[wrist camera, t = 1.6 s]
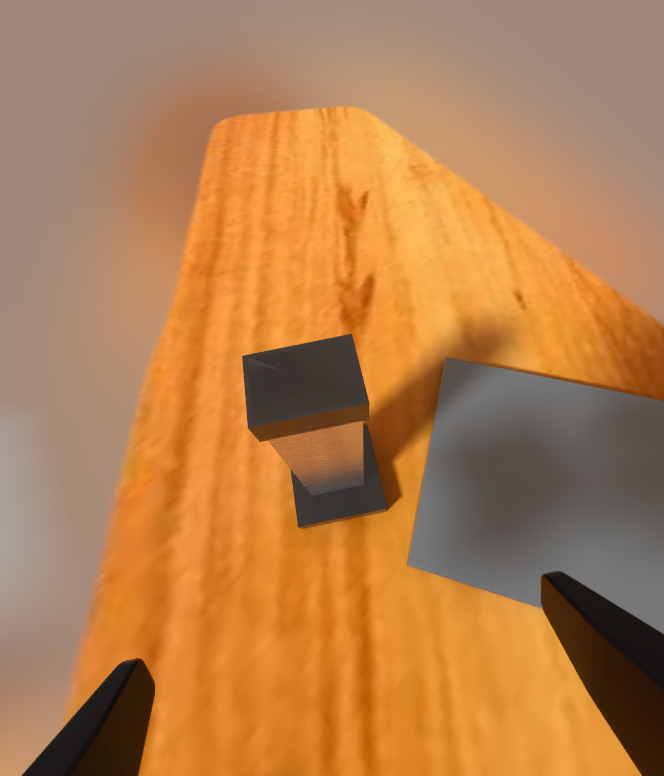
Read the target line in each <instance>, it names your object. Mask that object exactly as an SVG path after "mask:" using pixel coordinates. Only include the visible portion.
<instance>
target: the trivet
mask: <svg viewBox="0 0 664 776" xmlns="http://www.w3.org/2000/svg"><path fill="white" fill-rule="evenodd" d="M407 566H411V567H414V568H417V569H420V570H423V571H426V572H429V573H432V574H436V575H439V576H442V577H445V578H448V579H451V580H454V581H457V582H460V583H464V584H467V585H470V586H473V587H476V588H479V589H482V590H485V591H489V592H492V593H495V594H498V595H501V596H504V597H507V598H510V599H514V600H517V601H520V602H523V603H526V604H529V605H532V606H535V607H538V608H542V605H541V576H542V575H543V574H545V573H549V572H554V571H561V572H564V573H565V574H567V575H569V576H570V577H572V578H574V579H575V580H577V581H578V582H580V583H582V584H583V585H585V586H587V587H588V588H590V589H591V590H593V591H595V592H596V593H598V594H600V595H601V596H603V597H605V598H606V599H608V600H609V601H611V602H613V603H614V604H616V605H618V606H619V607H621V608H622V609H624V610H626V611H627V612H629V613H631V614H632V615H634V616H635V617H637V618H639V619H640V620H642V621H644V622H645V623H647V624H648V625H650V626H652V627H653V628H655V629H657V630H658V631H660V632H662V633H663V634H664V401H663V400H658V399H653V398H648V397H643V396H638V395H633V394H628V393H623V392H618V391H613V390H608V389H603V388H598V387H593V386H588V385H583V384H578V383H573V382H568V381H563V380H558V379H553V378H548V377H543V376H538V375H533V374H528V373H523V372H518V371H513V370H508V369H503V368H498V367H493V366H488V365H483V364H478V363H473V362H468V361H463V360H458V359H453V358H448V357H446V359H445V362H444V365H443V371H442V376H441V382H440V387H439V392H438V398H437V403H436V408H435V414H434V419H433V425H432V430H431V435H430V441H429V446H428V452H427V457H426V462H425V468H424V473H423V478H422V484H421V489H420V495H419V500H418V505H417V511H416V516H415V522H414V527H413V532H412V538H411V543H410V548H409V554H408V559H407ZM542 609H543V608H542Z"/></svg>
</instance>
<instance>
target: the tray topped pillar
mask: <svg viewBox="0 0 664 776" xmlns="http://www.w3.org/2000/svg"><path fill="white" fill-rule="evenodd" d="M242 358H243V371H244V384H245V396H246V409H247V421H248V429H249V430H250V431H251V432H252V433H253V434H254V435H255V437H256V438H257V439H258V440H259V441H260V442H261V441H266V440H268V441H269V442H270V444H271V445H272V446H273V447H274V449H275V450H276V451H277V452H278V454H279V455H280V456H281V457H282V459H283V460H284V461H285V462H286V464H287V465H288V466H289V467H290V469H291V475H292V483H293V490H294V498H295V506H296V513H297V521H298V527H299V528H301V529H304V528H309V527H314V526H318V525H323V524H328V523H333V522H338V521H343V520H348V519H353V518H357V517H362V516H367V515H372V514H377V513H382V512H386V511H387V509H388V508H387V504H386V500H385V496H384V492H383V488H382V484H381V479H380V475H379V471H378V467H377V463H376V459H375V455H374V451H373V447H372V443H371V439H370V434H369V430H368V426H367V425H363V421H365V420H369V400H368V396H367V392H366V388H365V384H364V380H363V376H362V372H361V368H360V365H359V361H358V357H357V353H356V349H355V345H354V341H353V337H352V334H349V335H344V336H339V337H334V338H329V339H324V340H319V341H314V342H309V343H304V344H299V345H294V346H289V347H284V348H279V349H274V350H269V351H264V352H259V353H254V354H249V355H245V356H242Z"/></svg>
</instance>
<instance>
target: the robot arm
mask: <svg viewBox="0 0 664 776" xmlns="http://www.w3.org/2000/svg"><path fill="white" fill-rule="evenodd" d="M541 605H542V608H543V610H544V613H545V615H546V616H547V618H548V620H549V622H550V624H551V626H552V628H553V629H554V631H555V633H556V635H557V637H558V639H559V640H560V642H561V644H562V646H563V648H564V650H565V651H566V653H567V655H568V657H569V659H570V661H571V663H572V664H573V666H574V668H575V670H576V672H577V674H578V675H579V677H580V679H581V681H582V683H583V684H584V686H585V688H586V690H587V691H588V693H589V695H590V696H591V698H592V700H593V701H594V703H595V704H596V706H597V708H598V709H599V711H600V712H601V714H602V715H603V717H604V718H605V720H606V721H607V723H608V724H609V726H610V727H611V729H612V730H613V732H614V734H615V735H616V737H617V738H618V740H619V741H620V743H621V744H622V746H623V747H624V749H625V750H626V752H627V753H628V755H629V757H630V758H631V760H632V761H633V763H634V764H635V766H636V767H637V769H638V770H639V772H640V773H641V775H642V776H664V634H663V633H662V632H660V631H658V630H657V629H655V628H653V627H652V626H650V625H648V624H647V623H645V622H644V621H642V620H640V619H639V618H637V617H635V616H634V615H632V614H631V613H629V612H627V611H626V610H624V609H622V608H621V607H619V606H618V605H616V604H614V603H613V602H611V601H609V600H608V599H606V598H605V597H603V596H601V595H600V594H598V593H596V592H595V591H593V590H591V589H590V588H588V587H587V586H585V585H583V584H582V583H580V582H578V581H577V580H575V579H574V578H572V577H570V576H569V575H567V574H565V573H564V572H561V571H554V572H549V573H545V574H543V575H542V576H541ZM154 696H155V683H154V680H153V678H152V676H151V674H150V672H149V670H148V668H147V666H146V665H145V663H144V661H143V660H142V659H140V658H137V659H132V660H127V661H124V662H122V663H120V664H119V665H118V666H117V667H116V668H115V669H114V670H113V671H112V673H111V674H110V675H109V676H108V677H107V678H106V679H105V681H104V682H103V683H102V684H101V685H100V686H99V687H98V689H97V690H96V691H95V692H94V693H93V694H92V695H91V697H90V698H89V699H88V700H87V701H86V702H85V703H84V705H83V706H82V707H81V708H80V709H79V710H78V712H77V713H76V714H75V715H74V716H73V717H72V718H71V720H70V721H69V722H68V723H67V724H66V725H65V726H64V728H63V729H62V730H61V731H60V732H59V733H58V734H57V736H56V737H55V738H54V739H53V740H52V741H51V742H50V744H49V745H48V746H47V747H46V748H45V749H44V750H43V752H42V753H41V754H40V755H39V756H38V757H37V759H36V760H35V761H34V762H33V763H32V764H31V765H30V766H29V768H28V769H27V770H26V771H25V772H24V773H23V774H22V776H138V774H139V769H140V764H141V760H142V755H143V750H144V745H145V740H146V735H147V730H148V725H149V720H150V715H151V710H152V706H153V701H154Z"/></svg>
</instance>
